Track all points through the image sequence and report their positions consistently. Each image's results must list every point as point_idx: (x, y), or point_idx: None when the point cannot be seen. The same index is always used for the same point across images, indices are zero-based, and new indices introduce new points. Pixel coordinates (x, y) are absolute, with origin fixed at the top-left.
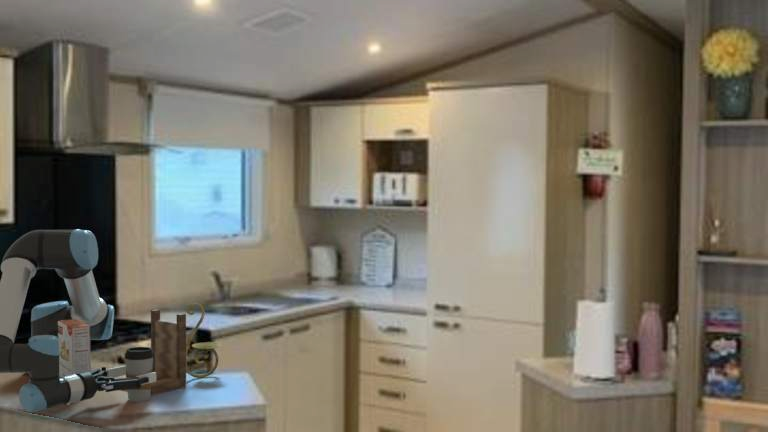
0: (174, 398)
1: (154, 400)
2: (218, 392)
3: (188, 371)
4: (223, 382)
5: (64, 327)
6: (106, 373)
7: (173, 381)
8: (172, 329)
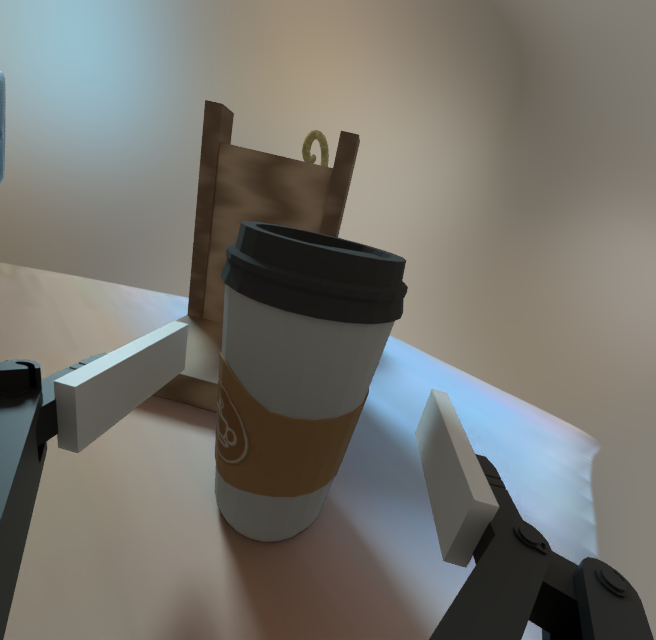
0: (382, 444)
1: (342, 484)
2: (420, 383)
3: None
4: None
5: None
6: (51, 415)
7: None
8: (305, 186)
